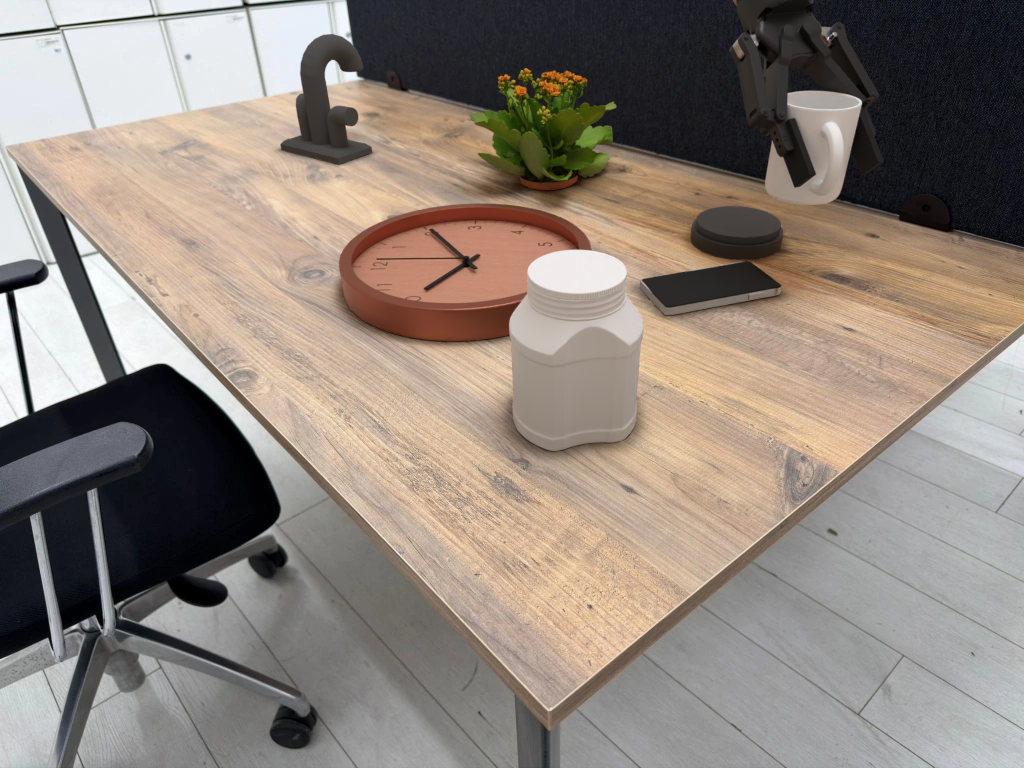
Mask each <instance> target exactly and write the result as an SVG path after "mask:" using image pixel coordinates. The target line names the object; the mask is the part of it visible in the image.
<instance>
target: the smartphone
mask: <svg viewBox="0 0 1024 768" xmlns="http://www.w3.org/2000/svg"><path fill="white" fill-rule="evenodd" d="M782 288H783V287H782V284H781V283H780V282H778V281H777V280H776V279H774V278H773V277H772V276H771V275H769V274H767V273H766V272H765V271H764V270H763V269H762V268H760V267H758V266H757V265H756V264H755V263H753V262H752V261H751V260H741V261H737V262H730V263H726V264H720V265H714V266H708V267H702V268H697V269H692V270H685V271H681V272H675V273H670V274H669V273H668V274H663V275H657V276H652V277H646V278H642V279H640V280H639V289H640V290H641V291H642V292H643V293H644V294H645V295H646V296H647V298H649V299H650V301H651V302H652V303H653V304H654V305H655V306H656V307H657V308H658V309H659V310H660V311H661V313H662V314H664V315H665V316H672V315H679V314H683V313H689V312H695V311H700V310H704V309H705V310H706V309H710V308H711V309H712V308H715V307H721V306H726V305H732V304H737V303H742V302H748V301H752V300H758V299H763V298H768V297H769V298H770V297H774V296H779V295H780V294H781V291H782Z"/></svg>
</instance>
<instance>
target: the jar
mask: <svg viewBox="0 0 1024 768" xmlns="http://www.w3.org/2000/svg"><path fill="white" fill-rule="evenodd" d="M627 281H628V268H627V267H626V265H625V264H624V263H623V262H622V261H621V260H620V259H619V258H617V257H615V256H613V255H610V254H609V253H608V254H607V253H604V252H600V251H596V250H591V251H590V250H564V251H557V252H553V253H549V254H546V255H544V256H541V257H539V258H537V259H536V260H534V261H533V262H532V263H531V264H530V266H529V267H528V270H527V283H528V284H527V289H528V290H527V295H526V296H525V297H524V299H523V300H522V301H521V303H520V304H519V305H518V307H517V308H516V309H515V311H514V312H513V314H512V315H511V318H510V321H509V333H510V335H509V339H510V350H511V351H510V352H511V375H512V376H511V377H512V404H511V405H512V407H511V408H512V420H513V423H514V426H515V428H516V429H517V431H518V432H519V434H521V436H523V438H525V440H527V441H528V442H530V443H531V444H534V445H535V446H537V447H538V448H542V449H544V450H547V451H551V452H559V451H563V450H566V449H570V448H572V447H576V446H580V445H581V446H582V445H586V444H595V443H609V444H612V443H619V442H622V441H624V440H625V439H626V438H627V437H628V436H629V435H630V434H631V433H632V431H633V429H634V427H635V425H636V421H637V411H638V404H637V400H638V399H637V398H638V386H639V372H640V363H641V362H640V361H641V347H642V341H643V339H644V338H643V336H644V320H643V317H642V315H641V314H640V311H638V309H637V308H636V306H635V305H634V303H633V302H632V301H631V299H630V298H629V295H627V287H628V286H627V285H628V282H627Z"/></svg>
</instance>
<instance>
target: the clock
mask: <svg viewBox="0 0 1024 768" xmlns="http://www.w3.org/2000/svg"><path fill="white" fill-rule="evenodd" d="M564 250H590V251H592V245H591V242H590V240H589V238H588V236H587V235H586V233H585V232H584V230H582V229H580V227H578V226H577V225H575V224H574V223H572V222H571V221H569V220H567V219H565V218H564V217H561V216H559V215H556V214H553V213H551V212H547V211H545V210H542V209H541V210H540V209H537V208H532V207H528V206H521V205H513V204H506V203H505V204H503V203H485V202H483V203H481V202H476V203H457V204H445V205H439V206H433V207H427V208H421V209H417V210H412V211H408V212H405V213H401V214H398V215H395V216H392V217H390V218H387V219H385V220H381V221H379V222H377V223H374V224H373V225H371V226H369V227H368V228H366V229H364V230H362V231H360V233H357V234H356V235H355V236H354V237H353V238H352V239H351V240H349V242H348V243H347V244H346V245H345V247H344V248H343V249H342V251H341V253H340V256H339V258H338V259H339V260H338V270H339V275H340V280H341V286H342V291H343V296H344V300H345V303H346V304H347V306H348V307H349V309H350V311H352V313H354V315H356V317H358V318H359V319H360V320H362V321H364V322H365V323H367V324H369V325H371V326H372V327H374V328H376V329H379V330H382V331H384V332H388V333H391V334H394V335H398V336H400V337H405V338H411V339H418V340H424V341H425V340H426V341H435V342H436V341H438V342H469V341H470V342H471V341H481V340H488V339H489V340H490V339H497V338H503V337H507V336H510V333H509V321H510V318H511V315H512V314H513V312H514V311H515V309H516V308H517V307H518V305H519V304H520V303H521V301H522V300H523V299H524V297H525V296H526V295H527V290H528V289H527V284H528V283H527V270H528V267H529V266H530V264H531V263H532V262H533V261H534V260H536V259H537V258H539V257H541V256H544V255H546V254H549V253H553V252H557V251H564Z"/></svg>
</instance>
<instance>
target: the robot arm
mask: <svg viewBox="0 0 1024 768" xmlns="http://www.w3.org/2000/svg"><path fill="white" fill-rule="evenodd" d="M732 2H733V3H734V4H735V6H736V14H737V16H738V18H739V22H740V24H741V27H742V29H743V32H742V33H741V34H740V35H739V36H738V38H737V39H736V40H735V41H734V43H733V44H732V46H730V48H729V50H728V52H729V54H730V56H731V58H732V60H733V61H734V64H735V65H736V68H737V73H738V80H739V85H740V90H741V95H742V101H743V106H744V111H745V117H746V122H747V125H748V127H749V128H750V129H751V130H755V129H757V128H759V133H760V134H761V135H762V136H763V137H768V136H769V135H770V138H771V142H772V141H773V144H774V147H775V149H776V152H777V154H778V155H779V156H780V157H783V158H784V161H785V164H786V166H787V169H788V172H789V174H790V177H791V180H792V183H793V185H794V188H796V187H801V186H802V185H803V184H804V183H806V182H807V181H808V180H810V179H811V178H812V177H814V176H815V175H816V172H815V170H814V167H813V164H812V162H811V159H810V156H809V154H808V151H807V148H806V146H805V143H804V140H803V138H802V135H801V133H800V130H799V127H798V125H797V122H796V119H795V118H791V119H788V120H787V121H785V119H786V117H787V99H788V93H789V69H790V68H793V69H799V70H800V71H801V73H802V74H803V75H805V76H810V77H811V78H812V80H814V82H815V83H816V84H817V85H818V87H819V88H820V89H821V91H829V92H837V93H843V94H847V95H851V96H854V97H856V98H858V99H860V100H861V101H862V106H861V110H860V114H859V118H858V123H857V127H856V131H855V135H854V139H853V144H852V148H851V153H852V155H853V158H854V161H855V163H856V166H857V168H858V171H859V174H860V175H861V176H863V175H867V174H869V173H870V172H872V171H873V170H874V169H876V168H877V167H879V166H880V165H881V164H883V163H884V162H885V160H884V158H883V155H882V152H881V150H880V147H879V145H878V143H877V140H876V137H875V136H876V135H877V134H876V128H875V126H874V124H873V122H872V119H871V116H870V114H869V111H868V107H870V106H871V105H872V104H873V103H874V102H876V101H877V100H878V99H879V98H880V94H879V92H878V90H877V88H876V86H875V85H874V83H873V82H872V79H871V77H870V76H869V74H868V72H867V71H866V69H865V67H864V66H863V64H862V63H861V61H860V59H859V57H858V55H857V53H856V52H855V50H854V48H853V47H852V45H851V43H850V42H849V40H848V36H847V31H846V28H845V24H843V22H841V21H836V22H835V23H833V25H832V26H822V25H821V23H820V22H819V20H817V19H816V17H815V16H814V14H813V8H814V0H732ZM816 55H817V56H816ZM815 56H816V57H815ZM761 57H762V59H763V66H762V60H761ZM814 57H815V58H814ZM813 58H814V59H813ZM812 59H813V60H812ZM811 60H812V61H811ZM810 61H811V62H810Z"/></svg>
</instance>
